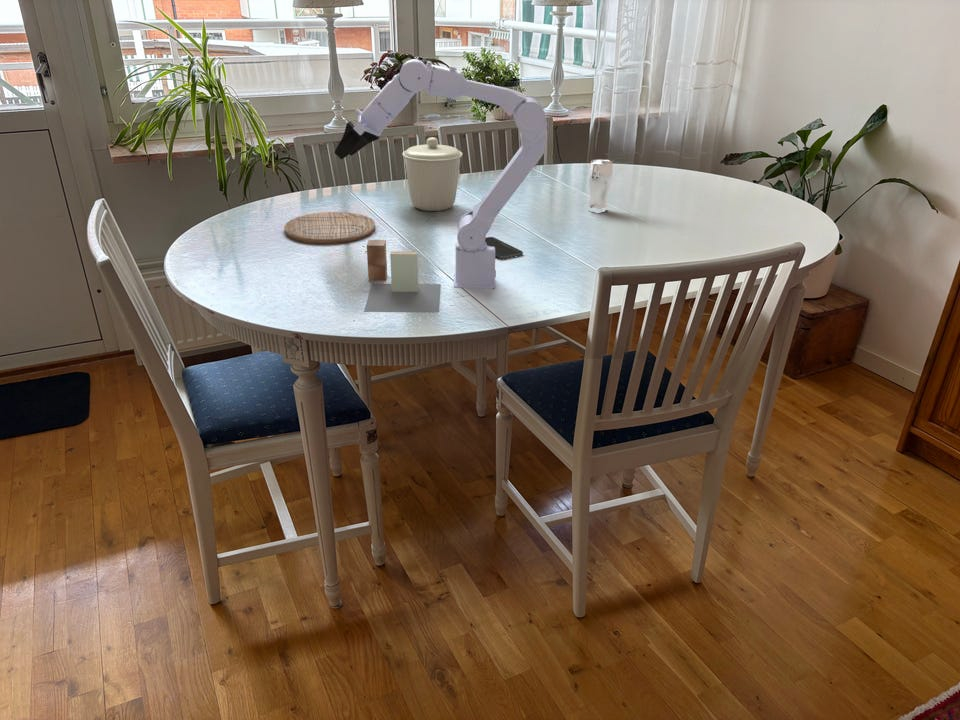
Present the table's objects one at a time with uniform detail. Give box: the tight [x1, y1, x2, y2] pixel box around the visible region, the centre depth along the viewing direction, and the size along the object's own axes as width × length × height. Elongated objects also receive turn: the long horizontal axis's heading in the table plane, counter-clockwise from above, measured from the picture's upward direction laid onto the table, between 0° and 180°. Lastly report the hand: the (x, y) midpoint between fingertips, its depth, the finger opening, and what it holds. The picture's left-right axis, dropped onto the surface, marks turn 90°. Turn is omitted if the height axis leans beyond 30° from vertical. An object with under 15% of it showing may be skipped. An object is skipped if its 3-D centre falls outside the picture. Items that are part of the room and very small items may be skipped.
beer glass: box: [587, 158, 614, 209], centre depth 226 cm, size 7×7×15 cm
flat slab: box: [389, 250, 420, 292], centre depth 166 cm, size 6×2×9 cm, turn 91°
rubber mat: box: [363, 283, 442, 313], centre depth 165 cm, size 16×16×1 cm
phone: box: [485, 236, 524, 261], centre depth 195 cm, size 8×1×15 cm
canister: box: [401, 136, 463, 212], centre depth 225 cm, size 18×18×21 cm
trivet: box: [283, 211, 376, 245], centre depth 207 cm, size 25×25×2 cm
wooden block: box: [366, 239, 388, 282], centre depth 173 cm, size 4×4×9 cm
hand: (343, 154), depth 160 cm, fingers open, 7 cm apart
